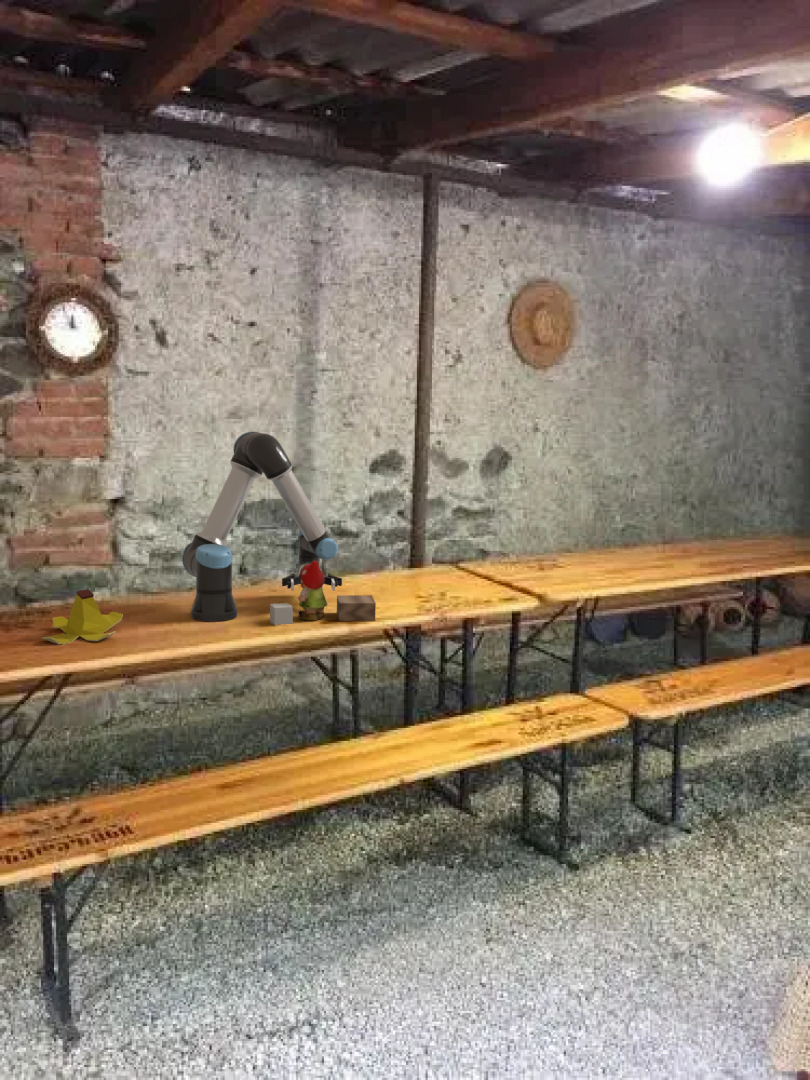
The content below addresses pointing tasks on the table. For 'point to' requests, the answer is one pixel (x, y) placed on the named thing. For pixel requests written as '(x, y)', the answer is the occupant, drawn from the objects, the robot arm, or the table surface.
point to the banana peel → (84, 621)
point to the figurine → (312, 593)
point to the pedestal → (356, 608)
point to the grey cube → (281, 613)
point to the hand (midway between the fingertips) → (313, 586)
